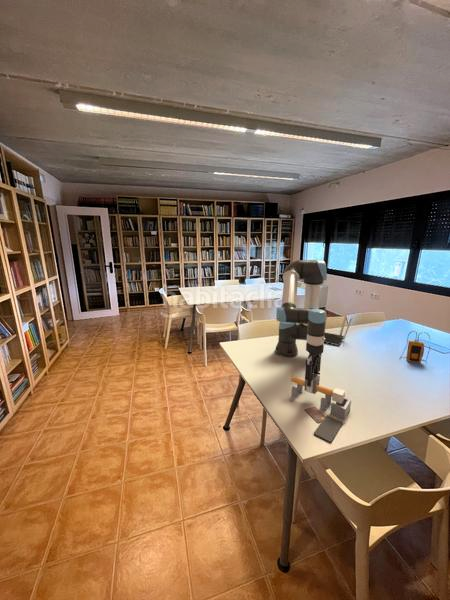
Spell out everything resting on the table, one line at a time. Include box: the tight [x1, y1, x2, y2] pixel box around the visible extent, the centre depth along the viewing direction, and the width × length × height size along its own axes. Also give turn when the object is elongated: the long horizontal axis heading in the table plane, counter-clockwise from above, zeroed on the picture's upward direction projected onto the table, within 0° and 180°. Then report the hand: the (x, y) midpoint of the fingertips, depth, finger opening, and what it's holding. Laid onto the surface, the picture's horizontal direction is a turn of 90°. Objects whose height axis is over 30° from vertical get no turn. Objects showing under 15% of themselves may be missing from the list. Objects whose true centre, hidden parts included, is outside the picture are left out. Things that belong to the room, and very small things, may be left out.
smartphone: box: [313, 414, 344, 444], centre depth 99 cm, size 7×1×15 cm
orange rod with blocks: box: [290, 373, 346, 404], centre depth 115 cm, size 24×5×7 cm, turn 49°
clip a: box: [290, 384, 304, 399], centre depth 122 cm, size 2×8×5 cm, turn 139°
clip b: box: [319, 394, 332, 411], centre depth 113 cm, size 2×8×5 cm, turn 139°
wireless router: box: [324, 314, 353, 346], centre depth 194 cm, size 34×23×20 cm
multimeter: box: [399, 330, 431, 364], centre depth 158 cm, size 15×10×20 cm
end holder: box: [329, 397, 352, 420], centre depth 109 cm, size 6×9×5 cm, turn 139°
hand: (311, 389), depth 117 cm, fingers closed on orange rod with blocks, 5 cm apart
